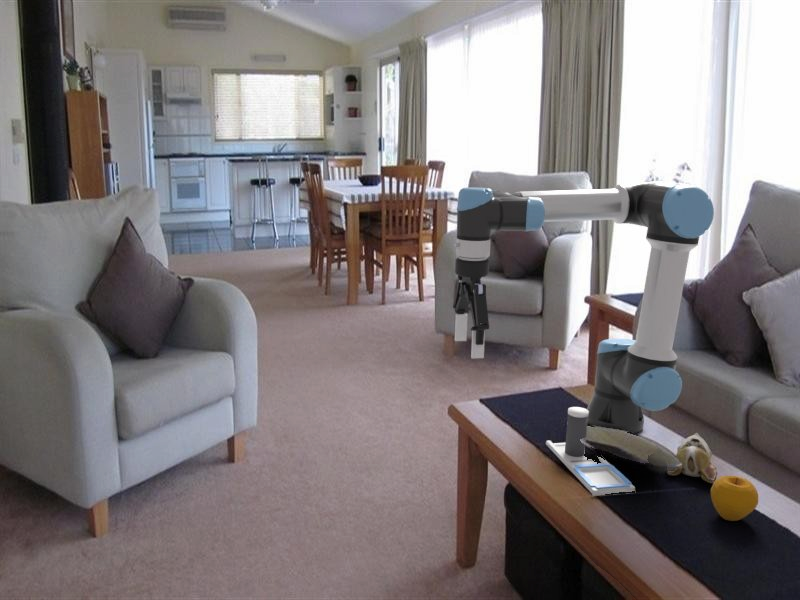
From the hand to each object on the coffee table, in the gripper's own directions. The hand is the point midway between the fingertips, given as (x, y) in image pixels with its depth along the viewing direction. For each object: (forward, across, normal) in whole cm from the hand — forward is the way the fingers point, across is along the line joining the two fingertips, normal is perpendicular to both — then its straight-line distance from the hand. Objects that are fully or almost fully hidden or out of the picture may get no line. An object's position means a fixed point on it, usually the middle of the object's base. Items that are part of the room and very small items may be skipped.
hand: (468, 349), depth 169 cm
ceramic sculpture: (+27, +16, +50) cm, 59 cm away
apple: (+27, +36, +46) cm, 64 cm away
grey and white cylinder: (+26, +3, +27) cm, 37 cm away
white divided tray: (+27, +10, +27) cm, 39 cm away
